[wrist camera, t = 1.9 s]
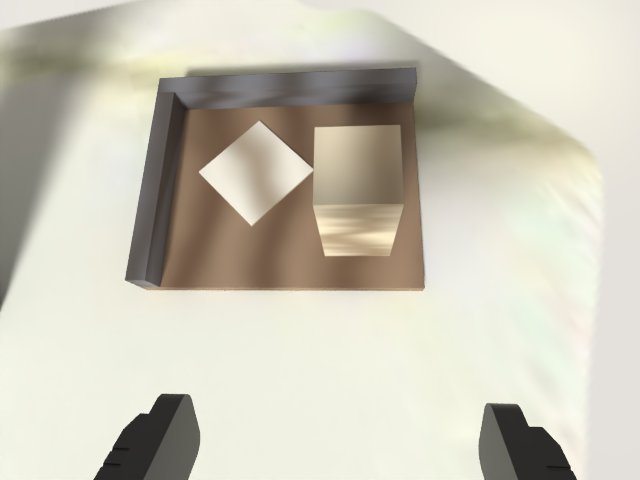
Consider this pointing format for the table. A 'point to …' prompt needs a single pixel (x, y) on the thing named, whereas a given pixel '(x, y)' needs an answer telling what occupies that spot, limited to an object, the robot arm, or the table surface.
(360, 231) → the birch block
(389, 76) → the tray
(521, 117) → the table surface
